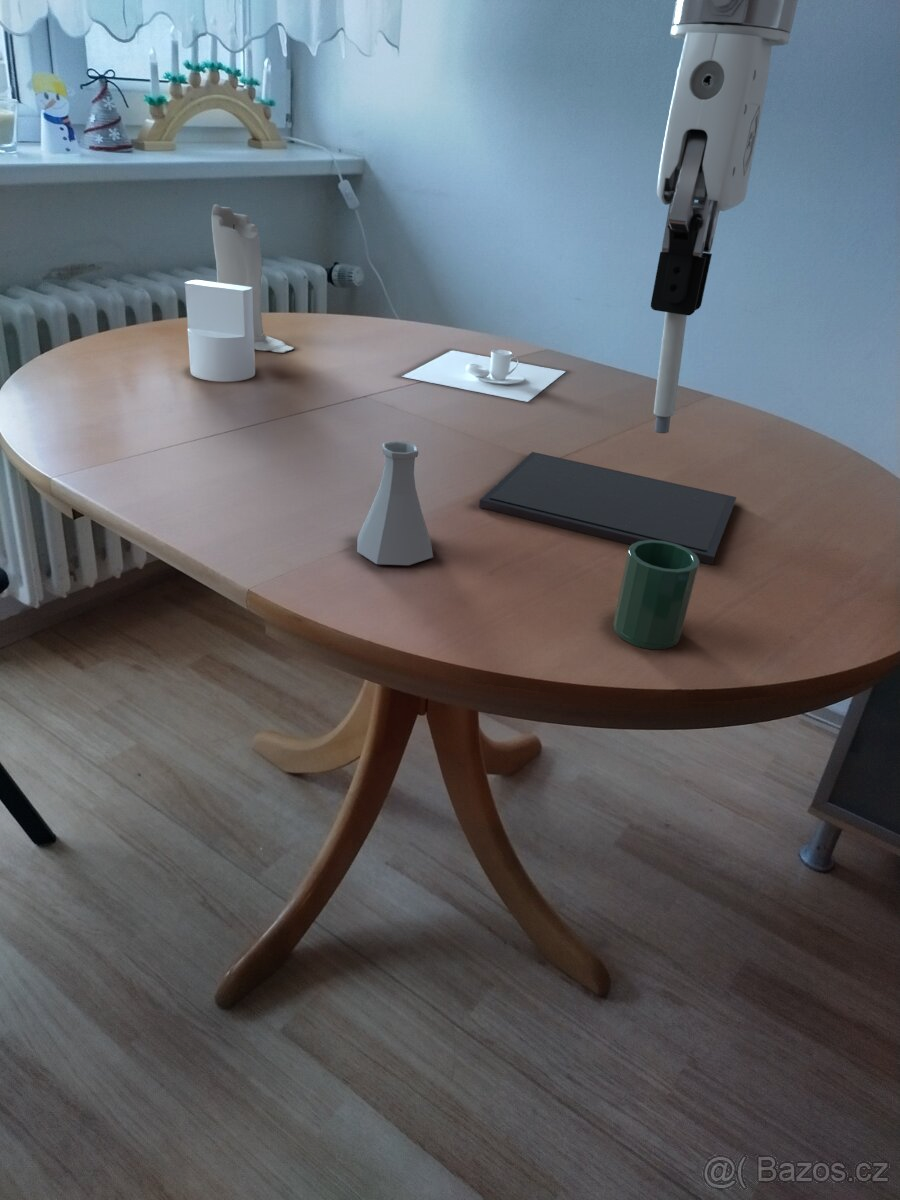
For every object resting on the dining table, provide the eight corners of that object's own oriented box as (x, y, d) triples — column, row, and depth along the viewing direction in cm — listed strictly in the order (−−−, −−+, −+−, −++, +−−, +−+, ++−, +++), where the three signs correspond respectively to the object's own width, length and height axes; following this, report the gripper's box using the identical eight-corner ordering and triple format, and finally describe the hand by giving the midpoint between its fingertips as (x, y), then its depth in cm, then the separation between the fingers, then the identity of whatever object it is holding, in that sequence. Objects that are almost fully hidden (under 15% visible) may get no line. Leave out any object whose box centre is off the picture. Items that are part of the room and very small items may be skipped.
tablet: (734, 504, 96) (736, 496, 95) (711, 565, 82) (714, 555, 82) (531, 458, 103) (532, 450, 103) (478, 507, 89) (479, 498, 89)
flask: (345, 537, 81) (347, 435, 76) (416, 529, 84) (423, 430, 79) (370, 572, 75) (374, 465, 70) (446, 563, 78) (455, 458, 73)
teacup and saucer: (459, 379, 130) (462, 352, 128) (478, 368, 137) (481, 342, 135) (514, 390, 128) (517, 362, 126) (531, 378, 134) (534, 351, 132)
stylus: (673, 430, 69) (699, 227, 62) (669, 435, 68) (695, 229, 61) (653, 427, 70) (677, 226, 63) (649, 433, 69) (673, 228, 61)
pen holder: (685, 625, 72) (704, 550, 68) (673, 656, 67) (692, 578, 64) (621, 608, 73) (637, 534, 70) (606, 637, 69) (621, 560, 66)
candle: (274, 355, 134) (271, 215, 124) (208, 338, 139) (200, 203, 129) (304, 347, 139) (303, 212, 129) (239, 331, 145) (233, 201, 135)
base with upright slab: (178, 376, 120) (171, 286, 114) (208, 360, 128) (203, 276, 122) (239, 385, 119) (235, 294, 113) (265, 369, 127) (263, 283, 121)
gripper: (781, -1, 48) (707, 337, 57) (804, 29, 60) (740, 301, 70) (648, -5, 50) (598, 319, 59) (696, 24, 63) (649, 288, 72)
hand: (675, 307), depth 64 cm, fingers closed on stylus, 1 cm apart
